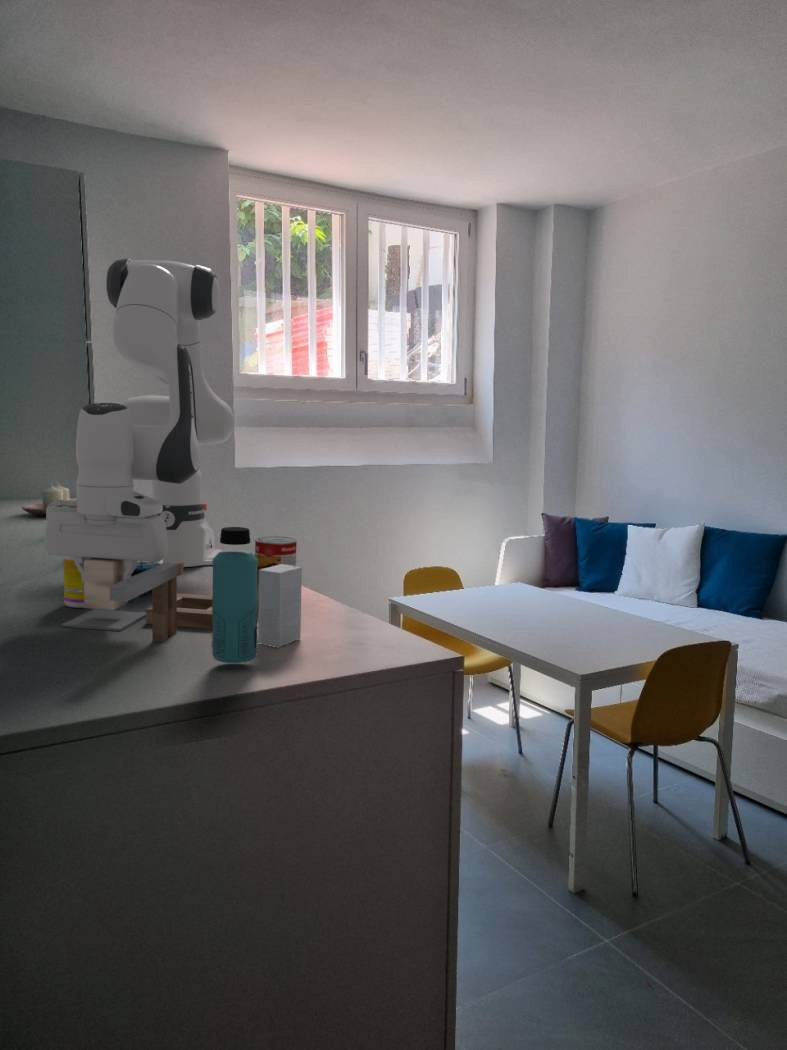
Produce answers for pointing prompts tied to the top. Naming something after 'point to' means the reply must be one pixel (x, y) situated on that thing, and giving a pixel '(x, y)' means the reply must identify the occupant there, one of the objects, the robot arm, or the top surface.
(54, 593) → the top surface
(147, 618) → the holder
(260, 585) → the skincare box
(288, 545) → the canned food
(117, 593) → the grey sliding bar
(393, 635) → the top surface
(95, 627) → the mat
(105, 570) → the birch block
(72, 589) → the supplement bottle
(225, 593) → the beverage bottle
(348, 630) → the top surface
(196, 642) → the top surface
